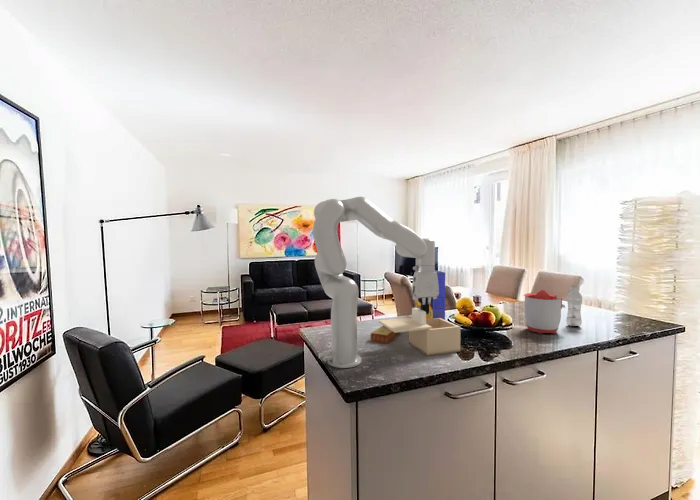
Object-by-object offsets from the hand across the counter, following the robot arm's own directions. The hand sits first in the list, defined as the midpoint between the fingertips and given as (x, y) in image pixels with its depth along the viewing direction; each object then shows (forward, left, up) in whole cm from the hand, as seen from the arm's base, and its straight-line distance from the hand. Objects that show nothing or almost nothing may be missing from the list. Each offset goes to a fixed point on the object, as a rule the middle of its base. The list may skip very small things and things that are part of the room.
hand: (424, 313), depth 139 cm
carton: (-9, +19, -15) cm, 26 cm away
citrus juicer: (+66, +3, -15) cm, 67 cm away
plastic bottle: (+86, +4, -15) cm, 87 cm away
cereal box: (+14, +20, -15) cm, 28 cm away
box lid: (-9, 0, -4) cm, 10 cm away
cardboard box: (+4, 0, -14) cm, 15 cm away
